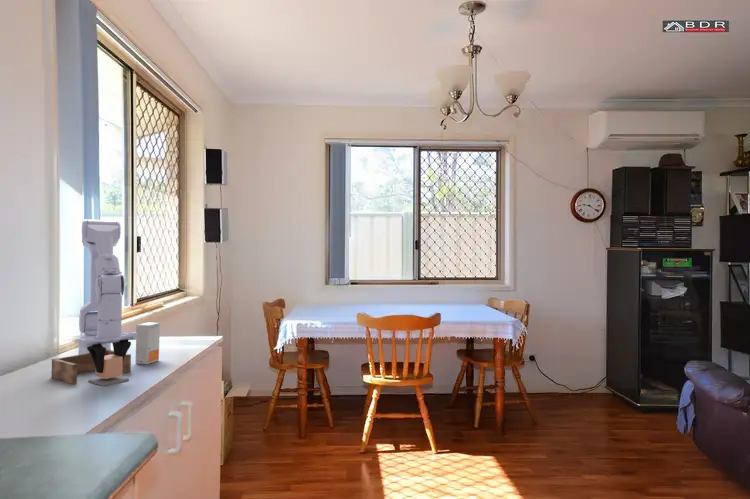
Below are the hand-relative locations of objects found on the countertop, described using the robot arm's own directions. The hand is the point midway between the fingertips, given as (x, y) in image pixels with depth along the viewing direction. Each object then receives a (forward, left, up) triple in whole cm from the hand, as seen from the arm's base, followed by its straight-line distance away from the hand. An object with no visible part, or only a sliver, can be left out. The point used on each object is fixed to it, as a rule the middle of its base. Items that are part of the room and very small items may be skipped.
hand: (108, 370), depth 138 cm
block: (0, 0, -1) cm, 1 cm away
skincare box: (-11, +19, -3) cm, 22 cm away
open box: (-10, +1, -3) cm, 10 cm away
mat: (0, 0, -3) cm, 3 cm away
